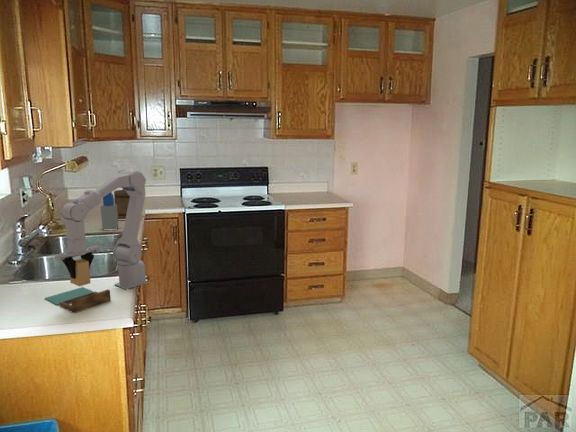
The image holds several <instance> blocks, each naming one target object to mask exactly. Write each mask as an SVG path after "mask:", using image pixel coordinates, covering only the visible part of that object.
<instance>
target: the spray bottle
mask: <svg viewBox="0 0 576 432" xmlns="http://www.w3.org/2000/svg"><path fill="white" fill-rule="evenodd" d="M100 215H101V216H100V218H101V228H103V229H116V228H118V227H119V220H118V212H117V205H116V204H115V200H114V193H113V191H112V192H111V193H109V194H107V195H106V196H104V197H103V198H102V204H100ZM103 229H102V230H103Z"/></svg>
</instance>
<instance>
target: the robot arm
mask: <svg viewBox="0 0 576 432" xmlns="http://www.w3.org/2000/svg"><path fill="white" fill-rule="evenodd" d="M146 181H147V179H146V177H145V176H144V174H143V173H142V172H141V171H138V170H136V171H135V170H126V169H120V170H118V171H117V172H115V173H113V175H112V176H111V177H110V178H109V179H107V180H106V181H105V182H104V183H102V184H101V185H100V186H99V187H97V188H96V189H95V190H93V189H89V190H85V191H84V192H83V194H82V195H81V196H79V197H77V198H74V199H73V201H72V202H67V203H65V204H64V205H63V207H62V208H61V211H60V212H59V214H60V216H61V217H62V219H63V220H64V224H65V236H66V242H67V244H66V245H67V250H66V251H63V252H61V253H57V254H54V260H55V261H56V262H61V261H62V263H63V265H65V267H66V269H67V270H68V273H69V277H70V276H71V278H73V279H75V278H76V272H75V264H76V260H73V259H74V258H77V257H80V258H81V259H84V260H87V261H89V270H90V269H91V265H92V262H93V260H94V259H95V254H94V253H99V252H100V248H99V247H100V246H97V245H94V246H87V241H86V240H87V239H86V231H85V219H86V217H87V216H88V213H89V212H91V210H93V209H94V208H96V207H98V205H101V203H102V199H103V197H104V196H106V195H107V194H109V193H111V192H112V193H113V192H114V191H116V190H118V189H119V188H121V190H122V189H124V190H125V191H126V192H127V193H128V195H129V196H130V199H129V204H128V209H127V214H126V220H124V224H123V225H124V226H123V231H122V235H121V237H120V238H118V240H116V245H115V246H114V248H113V250H112V256H113V258H114V259H115V260H116V263H117V269H118V271H117V272H118V282H115V283H114V286H116V287H119V288H121V289H123V290H124V289H125V290H129V289H132V288H135V287H139V286H142V285H144V284H147V283H148V281H147V276H146V275H147V273H146V272H147V271H146V265H145V263H144V261H143V260H141V257H142V244H141V243H140V241H139V240H138V237H139V230H140V228H141V227H140V226H141V221H142V215H143V211H144V210H143V209H144V206H145V205H144V203H145V200H146Z"/></svg>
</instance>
